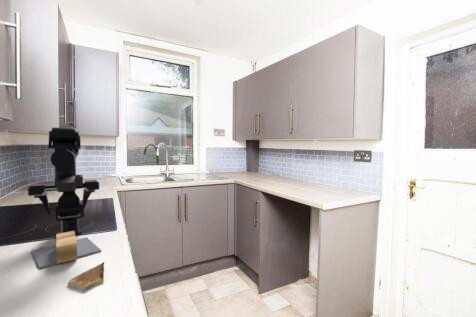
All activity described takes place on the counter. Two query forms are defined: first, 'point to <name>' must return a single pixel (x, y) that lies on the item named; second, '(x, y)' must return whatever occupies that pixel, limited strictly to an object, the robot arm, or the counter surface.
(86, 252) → the slate mat
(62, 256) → the wood block
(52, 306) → the counter surface
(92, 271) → the shard
